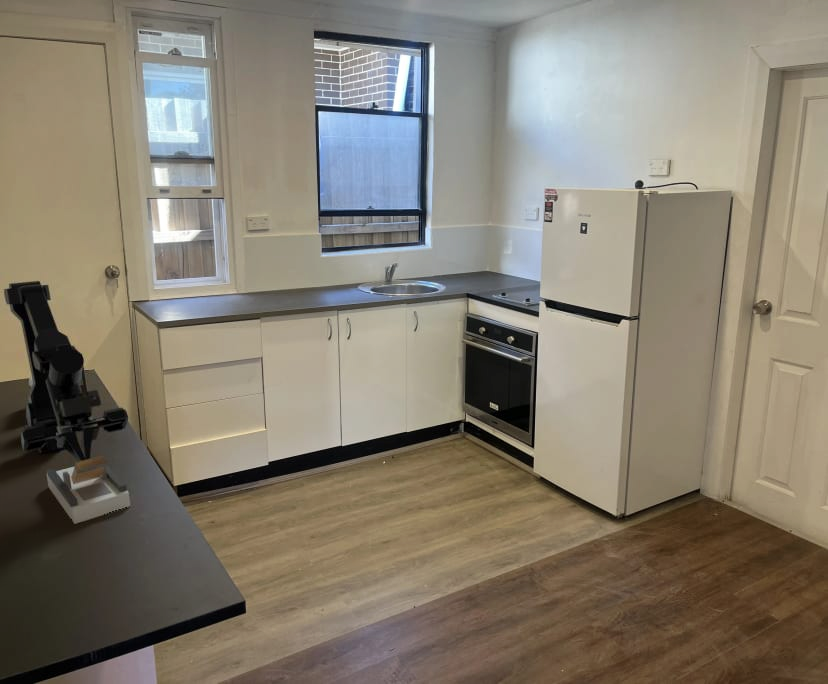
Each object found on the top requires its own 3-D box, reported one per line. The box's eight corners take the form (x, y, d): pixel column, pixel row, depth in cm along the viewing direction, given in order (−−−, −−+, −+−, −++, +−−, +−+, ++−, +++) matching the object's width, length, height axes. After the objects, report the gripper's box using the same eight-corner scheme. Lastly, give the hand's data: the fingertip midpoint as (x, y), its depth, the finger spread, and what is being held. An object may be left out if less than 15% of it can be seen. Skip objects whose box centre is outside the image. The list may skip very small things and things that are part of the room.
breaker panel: (48, 487, 136) (44, 460, 135) (99, 473, 143) (96, 447, 141) (74, 523, 122) (70, 494, 120) (130, 506, 128) (126, 477, 126)
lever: (70, 477, 129) (75, 462, 124) (98, 469, 133) (104, 454, 127) (72, 485, 129) (77, 471, 123) (101, 477, 132) (107, 463, 126)
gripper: (14, 388, 122) (34, 465, 117) (120, 370, 133) (143, 439, 128) (13, 414, 130) (32, 487, 125) (113, 394, 141) (134, 460, 136)
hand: (87, 467), depth 128 cm, fingers closed, pressing on lever
